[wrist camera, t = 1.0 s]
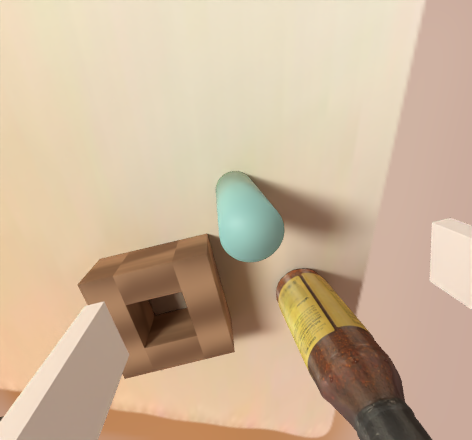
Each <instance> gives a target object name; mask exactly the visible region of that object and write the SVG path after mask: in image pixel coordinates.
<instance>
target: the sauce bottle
mask: <svg viewBox="0 0 472 440" xmlns="http://www.w3.org/2000/svg"><path fill="white" fill-rule="evenodd" d="M276 296H277V301H278V303H279V307H280V309H281V312H282V314H283V316H284V318H285V321H286V323H287V325H288V327H289V329H290V331H291V333H292V336H293V338H294V340H295V342H296V345H297V347H298V349H299V351H300V353H301V355H302V358H303V360H304V362H305V364H306V366H307V369H308V371H309V373H310V375H311V377H312V378H313V380H314V381H315V383H316V385H317V387H318V389H319V391H320V393H321V395H322V397H323V398H324V399H326V400H327V401H328V402H329V403H330V404H331V405H332V406H333V407H334V408H335V409H336V410H337V411H338V412H339V413H340V414H341V415H343V417H344V418H345V419H346V420H347V421H348V422H349V423H350V424H351V425H352V426H353V427H354V429H355V430H356V431H357V434H358V437H359V439H360V440H432V439H431V437H430V436H429V435H428V434H427V432H426V431H425V429H424V428H423V427H422V425H421V424H420V423H419V421H418V420H417V419H416V417H415V415H414V413H413V411H412V410H411V408H410V407H409V406H408V405H407V404H406V403H405V399H404V394H403V386H402V381H401V378H400V376H399V374H398V371H397V370H396V368H395V366H394V364H393V362H392V361H391V359H390V358H389V356H388V355H387V354H386V353H385V352H384V351H383V350H382V349H381V347H380V346H379V345H378V344H377V343H376V341H374V338H373V336H372V335H371V334H370V332H369V331H368V330H367V329H366V328H365V326H364V325H363V324H362V323H361V322H360V321H359V320H358V319H357V317H356V316H355V315H354V314H353V312H352V311H351V310H350V309H349V308H348V306H347V305H346V304H345V303H344V302H343V301H342V299H341V298H340V297H339V296H338V295H337V294H336V292H335V291H334V290H333V289H332V288H331V286H330V285H329V284H328V283H327V282H326V281H325V280H324V279H323V278H322V277H321V276H319V275H318V274H317V273H316V272H315V271H313V270H309V269H296V270H292V271H290V272H289V273H287V274H286V275H285V276H284V277H283V278H282V279H281V280H280V281H279V283H278V286H277V290H276Z"/></svg>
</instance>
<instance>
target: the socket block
mask: <svg viewBox="0 0 472 440" xmlns="http://www.w3.org/2000/svg"><path fill="white" fill-rule="evenodd" d="M78 287H79V289H80V291H81V293H82V295H83V297H84V298H85V300H86V302H87V304H88V305H91V304H95V303H99V302H105V304H106V306H107V308H108V311H109V313H110V315H111V317H112V319H113V321H114V323H115V325H116V328H117V330H118V332H119V334H120V336H121V338H122V340H123V342H124V345H125V347H126V349H127V351H128V353H129V357H128V360H127V362H126V365H125V368H124V371H123V373H122V374H123V376H124V378H125V379H126V378H130V377H134V376H138V375H142V374H146V373H150V372H154V371H158V370H163V369H167V368H171V367H175V366H179V365H183V364H187V363H191V362H195V361H199V360H203V359H208V358H212V357H216V356H220V355H224V354H228V353H232V352H235V351H234V342H233V332H232V323H231V317H230V314H229V310H228V307H227V303H226V299H225V296H224V292H223V289H222V285H221V281H220V278H219V274H218V271H217V267H216V263H215V260H214V256H213V252H212V249H211V245H210V242H209V238H208V234H204V235H199V236H195V237H191V238H187V239H182V240H178V241H174V242H170V243H166V244H161V245H157V246H153V247H149V248H144V249H140V250H136V251H132V252H128V253H123V254H119V255H115V256H111V257H106V258H102V259H100V260H99V261H98V262H97V263H96V264H95V265H94V266H93V268H92V269H91V270H90V271H89V272H88V273H87V275H86V276H85V277H84V278H83V279H82V280H81V281H80V283H79V284H78ZM179 292H182V294H183V296H184V299H185V302H186V305H187V308H184V309H180V310H176V311H172V312H168V313H164V314H159V315H154V313H153V310H152V308H151V305H150V303H149V299H154V298H158V297H162V296H166V295H170V294H174V293H179Z"/></svg>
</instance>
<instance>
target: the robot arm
mask: <svg viewBox="0 0 472 440" xmlns="http://www.w3.org/2000/svg"><path fill="white" fill-rule="evenodd" d="M430 282H431V283H433V284H434V285H436V286H437V287H439V288H440V289H442V290H443V291H445V292H446V293H448V294H449V295H451V296H452V297H453V298H455V299H457V300H458V301H459V302H461V303H462V304H464V305H465V306H467V307H468V308H470V309H471V310H472V225H470V224H467V223H464V222H461V221H458V220H456V219H453V218H448V219H443V220H439V221H435V222H432V235H431V259H430ZM128 357H129V353H128V351H127V349H126V347H125V345H124V342H123V340H122V338H121V336H120V334H119V332H118V330H117V328H116V325H115V323H114V321H113V319H112V317H111V315H110V313H109V311H108V308H107V306H106V304H105V302H99V303H95V304H91V305H87V306H84V308H83V309H82V310H81V312H80V313H79V314H78V316H77V317H76V319H75V320H74V321H73V323H72V324H71V325H70V327H69V328H68V329H67V331H66V332H65V334H64V335H63V336H62V338H61V339H60V340H59V342H58V343H57V345H56V346H55V347H54V349H53V350H52V351H51V353H50V354H49V355H48V357H47V358H46V360H45V361H44V362H43V364H42V365H41V366H40V368H39V369H38V371H37V372H36V373H35V375H34V376H33V377H32V379H31V380H30V382H29V383H28V384H27V386H26V387H25V388H24V390H23V391H22V392H21V394H20V395H19V397H18V398H17V399H16V401H15V402H14V403H13V405H12V406H11V408H10V409H9V410H8V412H7V413H6V415H5V416H3V417H0V440H98V438H99V436H100V433H101V430H102V428H103V425H104V422H105V419H106V417H107V414H108V411H109V409H110V406H111V403H112V400H113V398H114V395H115V392H116V390H117V387H118V384H119V381H120V379H121V376H122V373H123V371H124V368H125V365H126V362H127V360H128Z"/></svg>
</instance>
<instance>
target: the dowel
mask: <svg viewBox="0 0 472 440" xmlns="http://www.w3.org/2000/svg"><path fill="white" fill-rule="evenodd" d="M216 199H217V212H218V225H219V237H220V242H221V244H222V246H223V248H224V250H225V251H226V252H227V253H228V254H229V255H230V256H231V257H233V258H235V259H237V260H239V261H243V262H257V261H261V260H263V259H266V258H267V257H269V256H271V255H272V254H273V253H274V252H275V251H276V250H277V249H278V248H279V246H280V244H281V242H282V240H283V237H284V223H283V220H282V218H281V216H280V214H279V213H278V212H277V210H276V209H275V208H274V207H273V206H272V204H271V203H270V202H269V201H268V200H267V198H266V197H265V196H264V195H263V193H262V192H261V191H260V190H259V189H258V187H257V186H256V185H255V184H254V183H253V181H252V180H251V179H250V178H249V177H248V176H247V175H246V174H244V173H242V172H239V171H232V172H228V173H226V174H224V175H223V176H222V177H221V178H220V179H219V181H218V183H217V185H216Z"/></svg>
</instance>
